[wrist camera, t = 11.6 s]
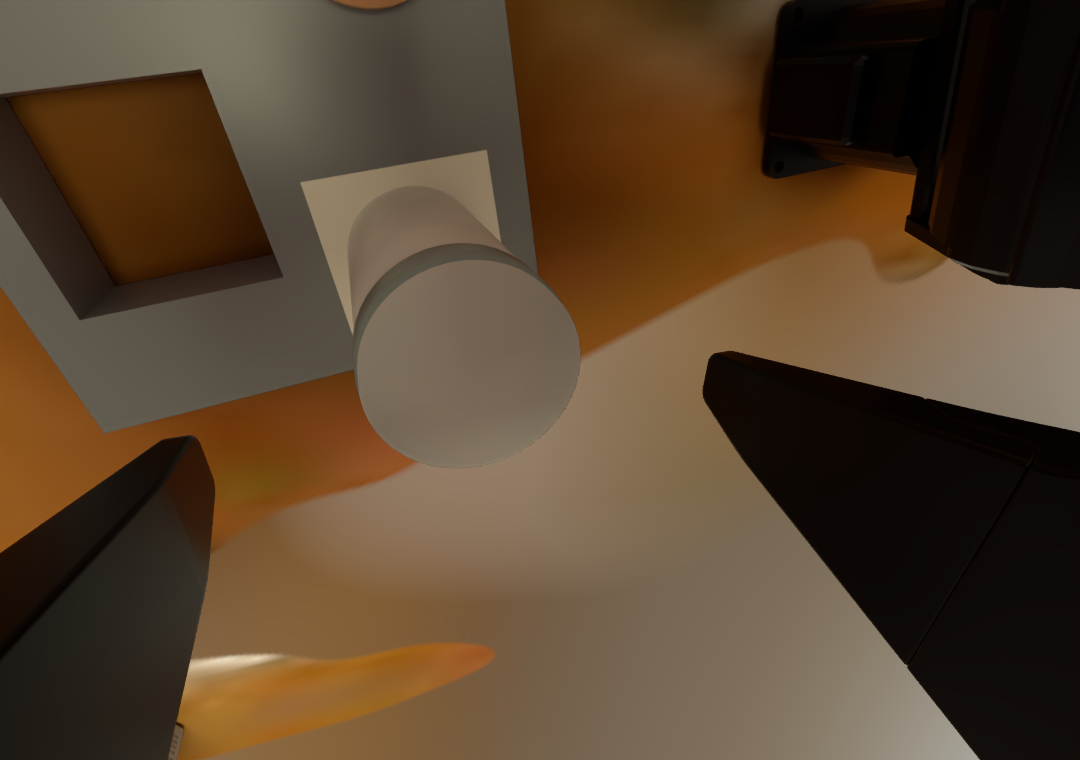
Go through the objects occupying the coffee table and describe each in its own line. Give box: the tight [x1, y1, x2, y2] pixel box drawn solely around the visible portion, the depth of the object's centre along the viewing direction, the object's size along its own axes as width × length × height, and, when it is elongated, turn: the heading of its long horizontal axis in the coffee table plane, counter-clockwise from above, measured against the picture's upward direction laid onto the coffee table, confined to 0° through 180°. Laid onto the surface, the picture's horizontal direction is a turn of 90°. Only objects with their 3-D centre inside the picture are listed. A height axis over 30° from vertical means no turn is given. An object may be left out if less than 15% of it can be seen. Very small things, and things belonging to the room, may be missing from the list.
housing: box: [0, 0, 538, 433], centre depth 15 cm, size 15×16×3 cm
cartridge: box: [347, 186, 580, 468], centre depth 14 cm, size 4×4×8 cm
